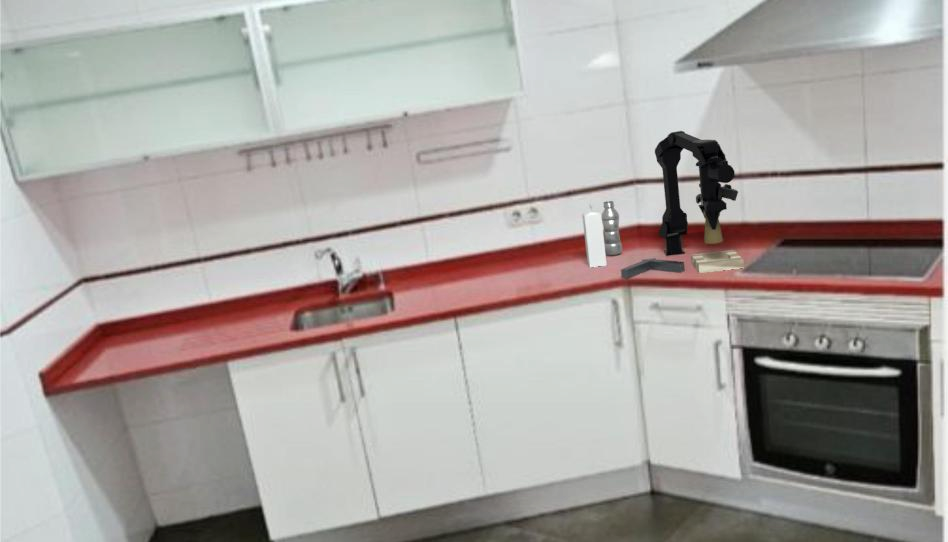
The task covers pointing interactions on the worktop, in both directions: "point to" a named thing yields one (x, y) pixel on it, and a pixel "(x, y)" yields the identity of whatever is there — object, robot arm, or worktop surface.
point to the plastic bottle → (611, 229)
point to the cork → (712, 232)
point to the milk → (594, 238)
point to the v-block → (652, 267)
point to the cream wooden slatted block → (717, 261)
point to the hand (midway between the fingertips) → (712, 227)
